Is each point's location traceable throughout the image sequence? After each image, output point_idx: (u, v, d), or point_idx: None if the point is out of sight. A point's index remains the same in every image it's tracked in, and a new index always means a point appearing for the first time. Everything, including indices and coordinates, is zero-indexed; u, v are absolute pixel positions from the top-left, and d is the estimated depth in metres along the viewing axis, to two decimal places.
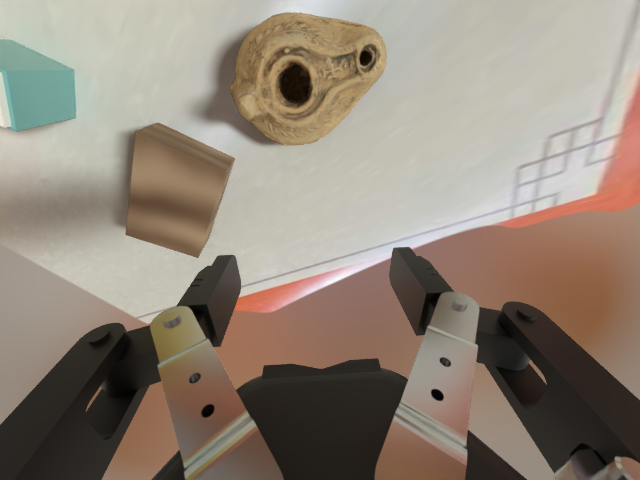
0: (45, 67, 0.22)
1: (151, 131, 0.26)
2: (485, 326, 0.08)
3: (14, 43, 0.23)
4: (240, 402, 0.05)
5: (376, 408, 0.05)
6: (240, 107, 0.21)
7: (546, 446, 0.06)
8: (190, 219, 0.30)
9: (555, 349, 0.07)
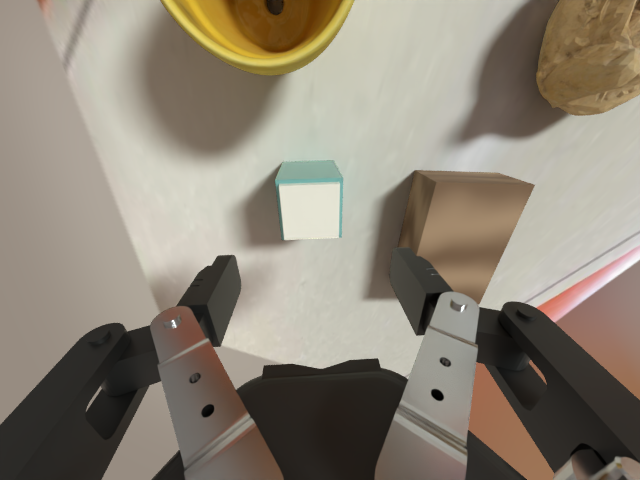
0: (332, 166, 0.21)
1: (435, 177, 0.22)
2: (485, 326, 0.08)
3: (289, 162, 0.23)
4: (240, 402, 0.05)
5: (376, 408, 0.05)
6: (620, 74, 0.15)
7: (546, 446, 0.06)
8: (479, 260, 0.25)
9: (555, 349, 0.07)
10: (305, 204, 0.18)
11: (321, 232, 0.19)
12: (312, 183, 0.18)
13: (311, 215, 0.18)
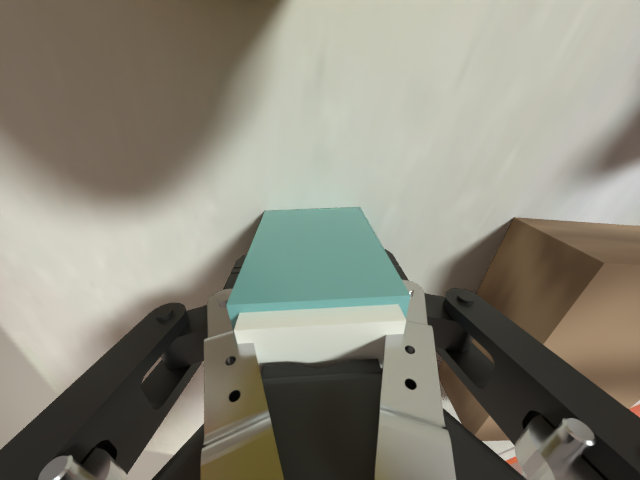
0: (365, 231, 0.10)
1: (578, 244, 0.11)
2: (429, 311, 0.09)
3: (276, 214, 0.12)
4: (263, 397, 0.05)
5: (376, 408, 0.05)
6: None
7: (501, 418, 0.07)
8: (622, 386, 0.14)
9: (494, 328, 0.07)
10: (309, 362, 0.07)
11: None
12: (330, 314, 0.06)
13: None
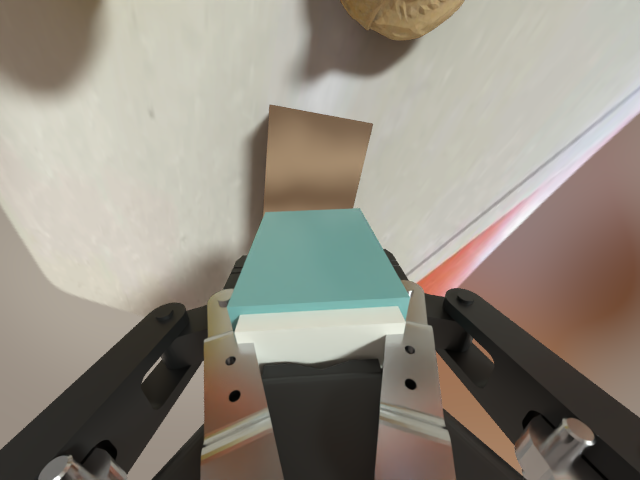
0: (365, 232, 0.10)
1: None
2: (429, 311, 0.09)
3: (276, 215, 0.12)
4: (264, 397, 0.05)
5: (376, 408, 0.05)
6: None
7: (501, 418, 0.07)
8: (332, 205, 0.25)
9: (494, 328, 0.07)
10: (309, 364, 0.07)
11: None
12: (330, 317, 0.06)
13: None
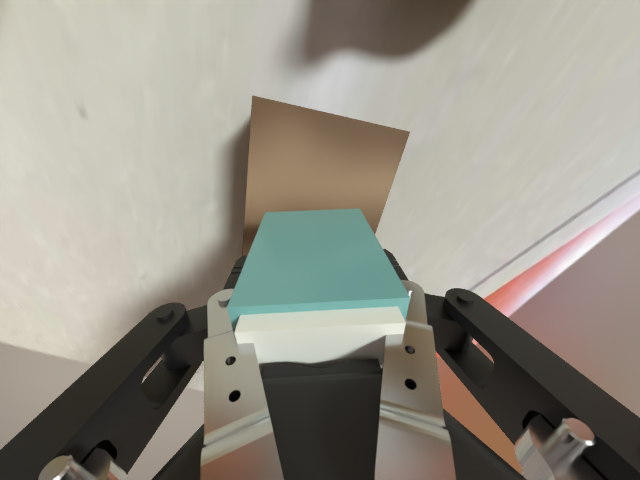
0: (365, 232, 0.10)
1: None
2: (429, 310, 0.09)
3: (276, 215, 0.12)
4: (264, 397, 0.05)
5: (376, 408, 0.05)
6: None
7: (500, 418, 0.07)
8: None
9: (494, 328, 0.07)
10: (309, 364, 0.07)
11: None
12: (330, 317, 0.06)
13: None
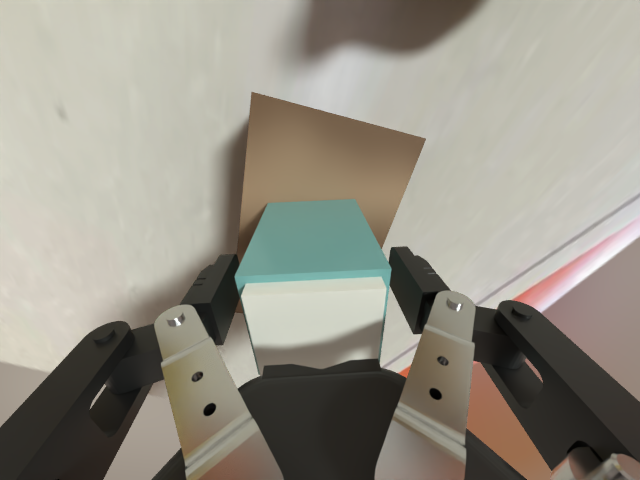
0: (358, 219, 0.11)
1: None
2: (481, 325, 0.08)
3: (278, 205, 0.13)
4: (242, 401, 0.05)
5: (376, 408, 0.05)
6: None
7: (543, 444, 0.06)
8: None
9: (551, 347, 0.07)
10: (305, 326, 0.08)
11: None
12: (322, 284, 0.08)
13: (318, 345, 0.08)
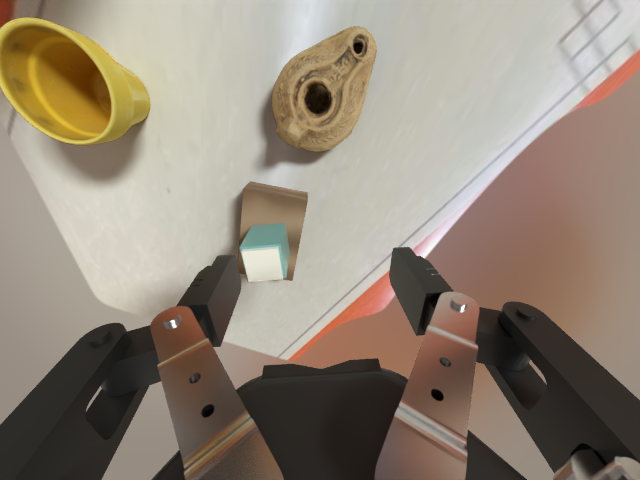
0: (281, 230, 0.33)
1: (250, 187, 0.35)
2: (485, 326, 0.08)
3: (255, 226, 0.35)
4: (240, 402, 0.05)
5: (376, 408, 0.05)
6: (289, 135, 0.28)
7: (546, 446, 0.06)
8: None
9: (555, 349, 0.06)
10: (258, 260, 0.30)
11: (271, 276, 0.31)
12: (262, 248, 0.29)
13: (263, 266, 0.30)
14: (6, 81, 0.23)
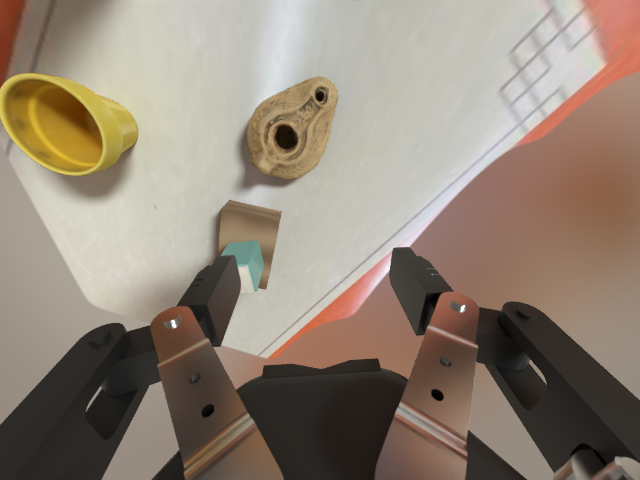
0: (252, 248, 0.37)
1: (228, 207, 0.39)
2: (485, 326, 0.08)
3: (231, 244, 0.39)
4: (240, 402, 0.05)
5: (376, 408, 0.05)
6: (260, 169, 0.32)
7: (546, 446, 0.06)
8: None
9: (555, 349, 0.07)
10: None
11: (243, 290, 0.35)
12: None
13: None
14: (10, 123, 0.26)
